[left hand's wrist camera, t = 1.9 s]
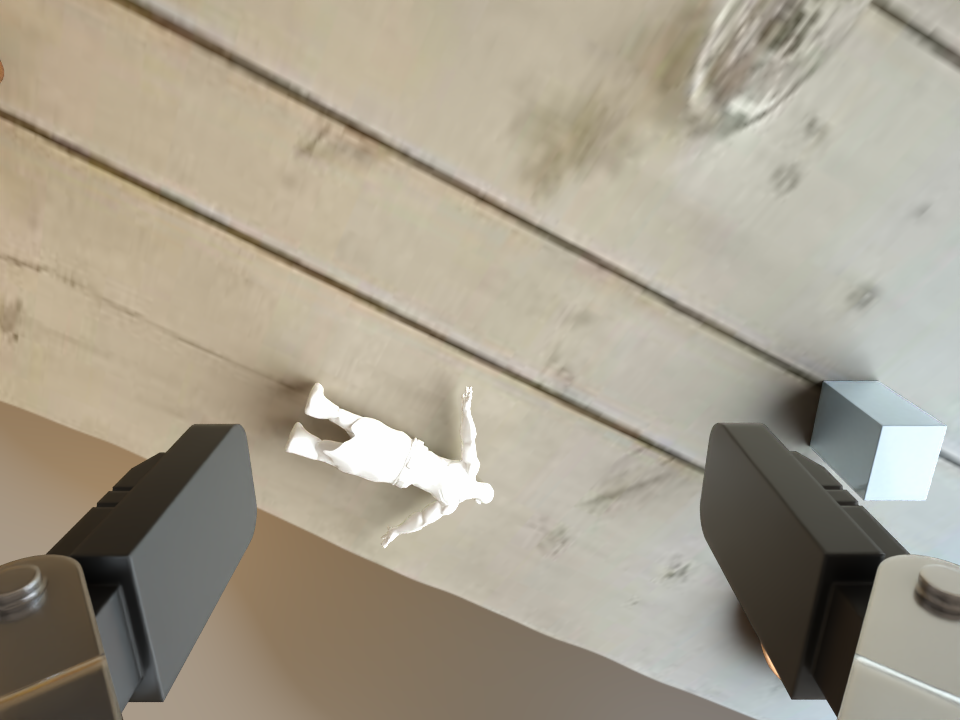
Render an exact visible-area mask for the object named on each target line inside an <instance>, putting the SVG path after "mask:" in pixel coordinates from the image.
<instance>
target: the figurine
mask: <svg viewBox="0 0 960 720" xmlns="http://www.w3.org/2000/svg"><path fill="white" fill-rule="evenodd" d="M471 389H472V387H469V390H468V387H466V389H465V396H464V394H462V403H461V407H462V422H461V427H460V435H461V439H462V445H461V452H462V460H450V459H446V458H443V457H440V456H437V455H436V454H434V453H433V452H432V451H428V448H427V447H426V446H424V445H423V444H424V442H423V441H421V440H419V439H417V438H414V439H413V440H412V439H411V438H410V437H409V436H408V435H407V434H405V433H404V432H402V431H398V430H395V429H392V428H390V427H388V426H386V425H385V424H383V423H382V422H380V421H378V420H375V419H373V418H368V417H361V416H359V415H356V414H353V413H351V412H348V411H346V410H344V409H339V407H338V406H336V405H335V404H333V403H332V402H330V401H329V400H328V399H327V398H326V397H325V396H324V395H323V388H322V386H321V384H319V383H315V384H314V386H313V388H312V390H311V392H310V394H309V396H308V401H307V404H306V407H305V410H304V411H305V413H306V414H307V415H309V416H312V417H315V418H319V419H329V420H330V421H331V422H333V423H335V424H337V425H338V426H340V427H341V428H343V429H345V430H346V432H347V433H348V435H349V436H350V437H351V438H352V439H350V440H348V441H346V442H344V443H340V442H336V441H331V440H321V439H320V438H318V437H316V436H314V435H312V434H311V433H309V432H308V431H306V429H305V428H304V427H303V425H302V424H301V423H300V422H297V423H296V424H295V425H294V427H293V429H292V431H291V434H290V437H289V439H288V443H287V446H286V449H285V451H286V452H290V453H294V454H297V455H301V456H304V457H307V458H310V459H317V460H319V461H323V462H326V463H328V464H330V465H332V466H335V467H336V468H337V469H339V470H340V471H342V472H344V473H349V474H353V475H357V476H360V477H362V478H364V479H367V480H370V481H373V482H387V483H391V484H392V485H396V486H398V487H399V488H406V487H408V486H409V485H410V484H412V485H414V486H416V487H418V488H421V489H423V490H425V491H427V492H429V493H431V494H432V496H433V497H434V498H435V499H437V500H436V501H434V502H432V503H430V504H429V505H428V506H426V507H425V508H424V509H423V511H417V512H414V513H412V514H411V515H410V516H409V517H408V518H407V519H406V520H405V521H404V522H403V523H401V524H400V525H399V526H396V527H392V528H391V527H389V526H388V527H387V528H388V529H389V531H388V532H387V534H385V535H384V536H382V537H381V538H382V539H384V538H385V539H384V540H383V541H382V543H381V545H382V546H383V547H384V548H386V547H387V545H388V544H389V542H391V541H392V540H393V539H394V538H395V537H396V536H398V535H399V534H402V533H410V532H414V531H418V530H420V529H421V528H422V527H424V526H425V525H427V524H429V523H432V522H434V521H436V520H437V519H439V518H440V517H441V516H442V515H448V514H450V513H452V512H453V511H454V510H455V509H456V507H457V505H458V504H459V503H460V502H462V501H464V500H465V499H470V498H474V500H475V501H476V502H478V503H479V504H480V502H482V503H488V502H490V501H491V500H492V498H493V495H494V492H493V489H492V487H491V486H490V485H489V484H488V483H483V482H477V481H476V479H475V475H476V474H477V472H478V470H479V466H480V464H479V461H478V459H477V457H476V449H475V441H474V439H475V436H476V430H475V425H474V423H473V420H472V417H471V414H470V403H471V402H470V400H471V398H472V395H471V394H472V390H471Z"/></svg>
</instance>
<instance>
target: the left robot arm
mask: <svg viewBox="0 0 960 720" xmlns="http://www.w3.org/2000/svg"><path fill="white" fill-rule="evenodd" d="M256 515H257V505H256V497H255V491H254V484H253V477H252V470H251V463H250V456H249V449H248V442H247V437H246V433H245V430H244V428H243V427H242V426H241V425H240V424H194V425H192V426H191V427H190V428H189V429H188V430H187V431H186V432H185V433H184V434H183V435H182V436H181V437H180V438H179V439H178V440H177V441H176V442H175V444H174V445H173V446H172V447H171V448H170V449H169V450H168V451H167V452H166V453H158V454H157V455H155V456H153V457H151V458H149V459H148V460H146V461H144V462H142V463H141V464H139V465H137V466H135V467H133V468H132V469H131V470H130V471H129V472H128V473H127V474H126V475H125V476H124V477H123V478H122V479H121V480H120V481H119V482H118V483H117V484H116V485H115V486H114V487H113V491H109V492H108V493H107V494H106V495H105V496H104V497H103V498H102V499H101V500H100V501H99V502H98V503H97V507H93V508H92V509H91V510H90V511H89V512H88V513H87V514H86V515H85V516H84V517H83V518H82V519H81V520H80V521H79V522H78V523H77V524H76V525H75V526H74V527H73V528H72V529H71V530H70V531H69V532H68V533H67V534H66V535H65V536H64V537H63V538H62V539H61V540H60V541H59V542H58V543H57V544H56V545H55V546H54V547H53V548H52V549H51V550H50V551H49V552H48V553H47V554H46V555H38V556H32V557H27V558H22V559H19V560H15V561H12V562H9V563H6V564H3V565H1V566H0V720H123V717H122V714H121V713H122V711H123V710H124V708H125V706H126V705H127V703H128V702H163V701H164V700H165V698H166V696H167V694H168V692H169V690H170V689H171V687H172V685H173V683H174V681H175V679H176V678H177V676H178V674H179V672H180V670H181V668H182V667H183V665H184V663H185V661H186V659H187V657H188V656H189V654H190V652H191V650H192V648H193V646H194V645H195V643H196V641H197V639H198V637H199V635H200V633H201V632H202V630H203V628H204V626H205V624H206V622H207V621H208V619H209V617H210V615H211V613H212V611H213V610H214V608H215V606H216V604H217V602H218V600H219V599H220V597H221V595H222V593H223V591H224V589H225V588H226V586H227V584H228V582H229V580H230V578H231V577H232V575H233V573H234V571H235V569H236V567H237V565H238V564H239V562H240V560H241V558H242V556H243V554H244V552H245V551H246V549H247V547H248V545H249V543H250V541H251V539H252V537H253V534H254V530H255V525H256ZM700 519H701V526H702V530H703V534H704V537H705V539H706V541H707V543H708V545H709V547H710V549H711V550H712V552H713V554H714V556H715V558H716V560H717V562H718V564H719V565H720V567H721V569H722V571H723V573H724V575H725V577H726V578H727V580H728V582H729V584H730V586H731V588H732V590H733V591H734V593H735V595H736V597H737V599H738V601H739V603H740V604H741V606H742V608H743V610H744V612H745V614H746V616H747V617H748V619H749V621H750V623H751V625H752V627H753V629H754V631H755V632H756V634H757V636H758V638H759V640H760V642H761V644H762V645H763V647H764V649H765V651H766V653H767V655H768V657H769V658H770V660H771V662H772V664H773V666H774V668H775V670H776V671H777V673H778V675H779V677H780V679H781V681H782V683H783V684H784V686H785V688H786V690H787V692H788V694H789V696H790V697H791V699H792V700H827V701H828V703H829V705H830V706H831V708H832V710H833V711H834V713H835V715H836V716H837V720H960V566H959V565H957V564H954V563H951V562H948V561H945V560H941V559H938V558H933V557H928V556H922V555H910V554H909V553H908V552H907V551H906V550H905V549H904V547H903V546H902V545H901V544H900V543H899V542H898V541H897V540H896V539H895V538H894V537H893V536H892V535H891V534H890V533H889V532H888V531H887V530H886V529H885V528H884V527H883V526H882V525H881V524H880V523H879V522H878V521H877V520H876V519H875V518H874V517H873V516H872V515H871V514H870V513H869V512H868V511H867V510H866V509H865V508H864V507H863V506H859V505H858V501H857V500H856V499H855V498H854V497H853V496H852V495H851V494H850V493H849V492H848V491H847V490H843V486H842V485H841V484H840V483H839V482H838V481H837V480H836V479H835V478H834V477H833V476H832V475H831V474H830V473H829V472H828V471H827V470H826V469H825V468H824V467H823V466H821V465H819V464H817V463H816V462H814V461H812V460H810V459H808V458H807V457H805V456H803V455H801V454H800V453H798V452H796V451H789V450H788V449H787V448H786V447H785V446H784V445H783V444H782V443H781V442H780V441H779V439H778V438H777V437H776V436H775V435H774V434H773V433H772V432H771V431H770V430H769V429H768V428H767V427H766V426H765V425H764V424H762V423H717V424H715V425H714V426H713V428H712V430H711V433H710V438H709V445H708V452H707V459H706V466H705V473H704V480H703V487H702V494H701V501H700Z"/></svg>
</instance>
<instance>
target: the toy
mask: <svg viewBox="0 0 960 720" xmlns="http://www.w3.org/2000/svg"><path fill="white" fill-rule="evenodd" d="M3 77H4V69H3V66H2V63H1V61H0V83H1V81H2V80H3Z"/></svg>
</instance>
